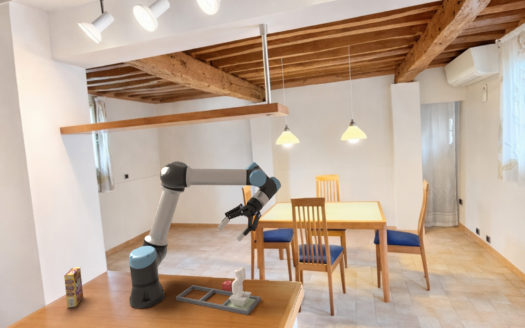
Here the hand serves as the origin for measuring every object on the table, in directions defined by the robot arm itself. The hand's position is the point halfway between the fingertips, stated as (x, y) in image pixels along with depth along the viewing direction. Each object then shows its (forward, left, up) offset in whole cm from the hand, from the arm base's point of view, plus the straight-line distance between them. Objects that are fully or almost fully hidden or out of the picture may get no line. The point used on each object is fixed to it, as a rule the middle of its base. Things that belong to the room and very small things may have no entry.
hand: (228, 234), depth 142 cm
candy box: (-67, -31, -28) cm, 79 cm away
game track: (-3, -8, -28) cm, 29 cm away
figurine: (+9, -8, -28) cm, 30 cm away
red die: (-3, +1, -28) cm, 28 cm away
